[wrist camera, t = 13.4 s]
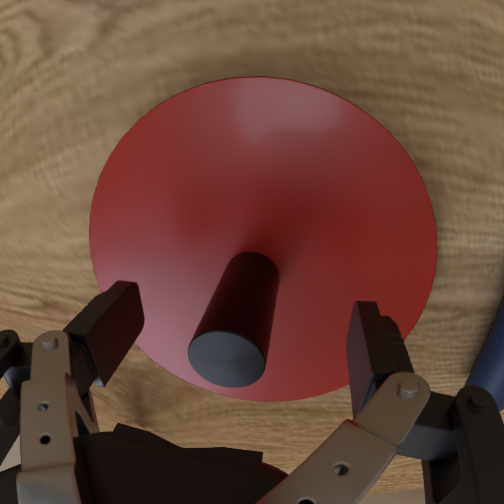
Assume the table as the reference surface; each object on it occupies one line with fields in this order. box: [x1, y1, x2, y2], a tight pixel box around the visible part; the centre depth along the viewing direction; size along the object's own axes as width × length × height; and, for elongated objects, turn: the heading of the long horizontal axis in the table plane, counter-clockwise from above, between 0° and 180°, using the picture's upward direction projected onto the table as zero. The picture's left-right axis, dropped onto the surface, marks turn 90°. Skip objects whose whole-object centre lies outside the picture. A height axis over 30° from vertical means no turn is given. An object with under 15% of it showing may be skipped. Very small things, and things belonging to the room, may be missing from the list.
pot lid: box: [89, 76, 437, 401], centre depth 12 cm, size 17×17×7 cm
